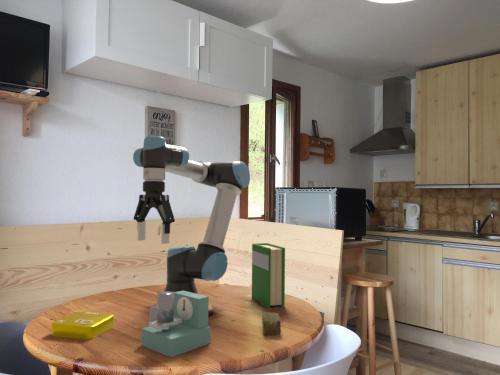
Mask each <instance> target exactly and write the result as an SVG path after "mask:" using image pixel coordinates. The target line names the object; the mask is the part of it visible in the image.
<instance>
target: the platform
mask: <svg viewBox="0 0 500 375" xmlns="http://www.w3.org/2000/svg"><path fill="white" fill-rule="evenodd" d="M179 323H182V318H179V317H175V316H174V321H173V322H171V323H159V322H157V321H153V322H150V321H149V323H148V327H151V328H154V329H157V330H158V329H162V332H169V331H170V326H172V325H176V324H179Z"/></svg>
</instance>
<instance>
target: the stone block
mask: <svg viewBox="0 0 500 375" xmlns="http://www.w3.org/2000/svg"><path fill="white" fill-rule="evenodd" d="M261 322H262V330H263V331H262V332H263V334H264V335H266V336H274V337H275V336H280V335H281V326H282V325H281V323H282V322H281V319H280V314H279V312H262V319H261Z"/></svg>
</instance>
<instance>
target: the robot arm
mask: <svg viewBox="0 0 500 375" xmlns="http://www.w3.org/2000/svg"><path fill="white" fill-rule="evenodd" d="M132 161H133V163H134V164H135V166H137V167H139V168H143V169H142V171H143V172H142V174H143V176H142V179H143V180H144V181H143V182H142V191H143V192H144V193H145V194H139V196H138V203H137V205H136V210H135V212H134V216H133V220H134V221H136V222H137V227H136V228H137V241H146V222H147V221H146V218H147V216H148V214H149V212H150V211H151V209H152V208H153V209H155V210H156V211H157V213H158V215H159V217H160V220H162V223H161V241H160V242H161V244H163V245H164V244H170V234H171V224H172V223H175V221H176V220H175V219H176V218H175V217H174V212H173V209H172V206H171V203H170V195H169V194H163V193H164V192H166V191H165V189H166V182H165V180H166V173H170V174H174V175H176V176H181V177H183V178H187V179H192V181H194V182H195V183H198V184H202V185H205V186H208V187H212V188H216V190H217V193H216V197H215V200H214V204H213V206H212V209H211V214H210V216H209V221H208V224H207V226H206V230H205V233H204V237H203V241H201V242H199V243H198V244H197V247H195V245H187V246H186V245H185V246H176V247H172V248H171V247H170V248H169V249H168V250H167V253H166V254H167V255H166V256H167V257H166V285H165V289H164V291H163V292H165V291H170V292H178V291H187V292H191V293H196V294H199V293H198V290H197V286H196V284H195V279H196V280H197V279H198V280H204V281H207V282H209V281H218V280H221V278H223V276H224V275H225V274H226V271H227V270H228V265H229V263H228V259H229V258H228V256H227V255H226V250H225V248H224V244H225V240H226V236H227V234H228V233H227V232H228V229H229V227H230V226H229V225H230V221H231V217H232V215H233V210H234V207H235V203H236V200H237V196H240V195H241V194H242V191H243V189H244V188H247V187H248V186H249V184H250V182H251V173H250V169H249V167H248V165H247V164H246V163H245V162H243V161H237V160H234V161H214V162H213V161H212V162H204V161H194V160H192V159H191V160H190V153H189V150H188V149H187V148H185V147H182V146H180V145H172V144H167V141H166V138H165V137H163V136H157V135H149V136H145V138H144V139H143V147H140V148H136V150H134V152H133V156H132Z"/></svg>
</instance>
